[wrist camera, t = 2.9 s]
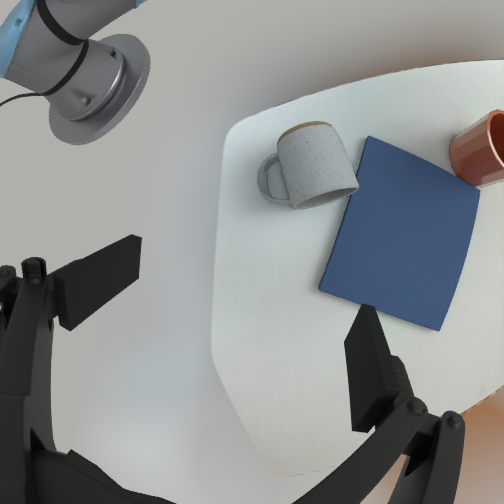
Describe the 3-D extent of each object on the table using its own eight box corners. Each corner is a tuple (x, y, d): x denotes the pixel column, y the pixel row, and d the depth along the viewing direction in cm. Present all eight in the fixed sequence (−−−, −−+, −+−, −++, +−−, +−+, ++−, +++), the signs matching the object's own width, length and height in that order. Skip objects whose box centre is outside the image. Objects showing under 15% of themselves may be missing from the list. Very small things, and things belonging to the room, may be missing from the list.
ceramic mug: (331, 135, 33) (337, 109, 25) (353, 196, 33) (366, 184, 25) (251, 159, 35) (237, 139, 27) (270, 220, 35) (261, 215, 27)
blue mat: (318, 288, 34) (318, 289, 33) (366, 137, 32) (368, 135, 31) (436, 329, 31) (439, 331, 30) (477, 191, 30) (480, 190, 29)
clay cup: (445, 173, 30) (484, 155, 21) (452, 124, 30) (486, 97, 20) (486, 197, 29) (529, 187, 19) (491, 149, 29) (530, 131, 19)
